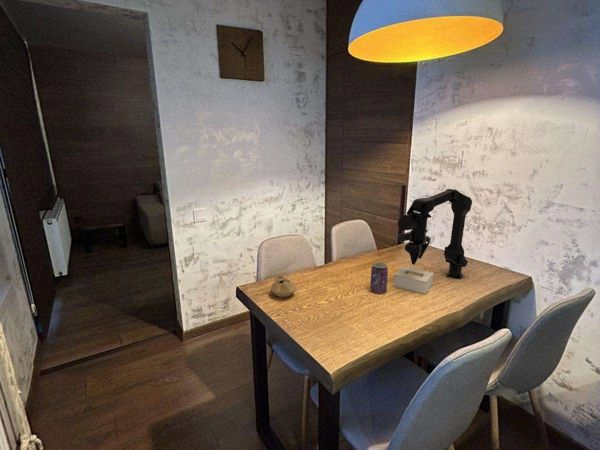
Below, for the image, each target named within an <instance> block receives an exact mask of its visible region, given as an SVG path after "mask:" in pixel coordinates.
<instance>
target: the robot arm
mask: <svg viewBox="0 0 600 450" xmlns="http://www.w3.org/2000/svg"><path fill="white" fill-rule="evenodd" d="M447 202H449V203H450V205H451V206H450V207H451V211H452V214H453V218H452V219H453V220H452V228H451V234H450V243H449V244H448V245H447V246H445V247H444V253H443V255H444V260H445V262H446V263H448V264H449V265H448V272H447V273H446V274H445V275H446V277H450V278H455V279H460V280H461V279H462V277H463V276H464V274H463V273H462V272H463V268H465V267H466V266H467V265H468V263H469V261H468V259H467V258H466V257H465V249H464V247H463V237H464V229H465V224H466V216H467V214H469V213H470V211H471V208H472V204H473V199H471V197H470V196H468V195H465V194H464V193H462V192H460V191H459V190H457V189H454V188H453V189H452V188H447V189H446V190H444V191H442V192H439V193H436V194H434V195H432V196H428V197H420V198H416V199H414V200H413V201H412V204H411V205H410V206H409V208H408V209H407V212H406V214H401V217H399V219H398V221H397V227H398V229H399V230H400V231H401V232H402V231H405V232H402V233H399V234H398V236H397V239H398V240H399V242H400V243H403V242H407V241H409V242H408V243H407V244H405V245H404V251H406V252H407V253H408V254H409V256H410V261H411V264H412V265H414V266H415V265H416V263H417V261H418V260H421V259H422V258H423V255H424V254H425V252H426V250H428V247H429V246H430V243H431V240H432V239H431V237H430V236H428V235H427V233H428V232H429V231H428V230H429V229H427V227H428V219H429V218H432V215H431V214H430V213H431V212H432V211H433V210H434V209H435V207H437V206H440V205H442V204H444V203H447ZM406 231H407V232H406Z"/></svg>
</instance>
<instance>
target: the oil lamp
mask: <svg viewBox="0 0 600 450" xmlns="http://www.w3.org/2000/svg"><path fill="white" fill-rule="evenodd" d="M270 291H271V292H272V293H273V294H274V295H275V296H277V297H280V298H288V297H289V296H291V295H292V294H294V293H295V292H296V291H297V286H296V284H295V282H292V281H291V280H290V279H288V278H286V277H284V276H283V275H277V276H276V277H275V280H274V282H273V283H272V285H271V286H270Z"/></svg>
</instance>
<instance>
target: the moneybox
mask: <svg viewBox="0 0 600 450" xmlns="http://www.w3.org/2000/svg"><path fill="white" fill-rule="evenodd" d="M408 272H410V273H414V274H419V275H422V277H419V276H415V275H410V274H407V273H408ZM433 281H434V272H432V271H426V270H421V269H416V268H412V267H408V266H402V267H401V268H400V269H399V270H397V271H396V272H395V273H394V274H393V287H394V288H398V289H402V290H406V291H408V292H414V293H416V294H417V293H418V294H421V295H426V294H427V293H428V292H429V290H430V289H431V288H432V286H433Z"/></svg>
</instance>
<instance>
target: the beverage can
mask: <svg viewBox="0 0 600 450" xmlns="http://www.w3.org/2000/svg"><path fill="white" fill-rule="evenodd" d="M370 270H371V271H370V283H369V284H370V285H369V288H370V290H371V291H372V292H373V293H376V294H382V293H385V292H387V290H388V289H387V288H388V275H389V274H388V273H389V269H388V265H387V264H386V263H383V262H374V263H372V267H371V268H370Z"/></svg>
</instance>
